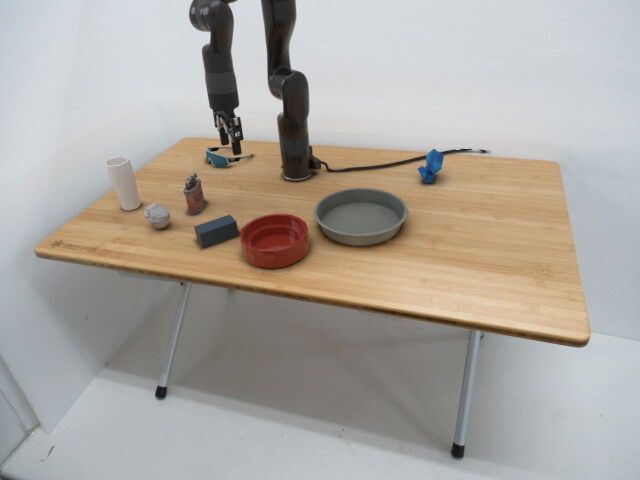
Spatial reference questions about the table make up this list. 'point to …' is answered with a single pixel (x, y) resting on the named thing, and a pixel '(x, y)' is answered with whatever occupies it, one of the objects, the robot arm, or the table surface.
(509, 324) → the table surface
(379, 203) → the cake pan
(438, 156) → the crystal
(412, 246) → the table surface
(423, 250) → the table surface
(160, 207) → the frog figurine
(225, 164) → the sunglasses
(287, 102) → the robot arm
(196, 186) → the lighter
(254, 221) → the bowl
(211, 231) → the blue rectangular block
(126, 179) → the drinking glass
